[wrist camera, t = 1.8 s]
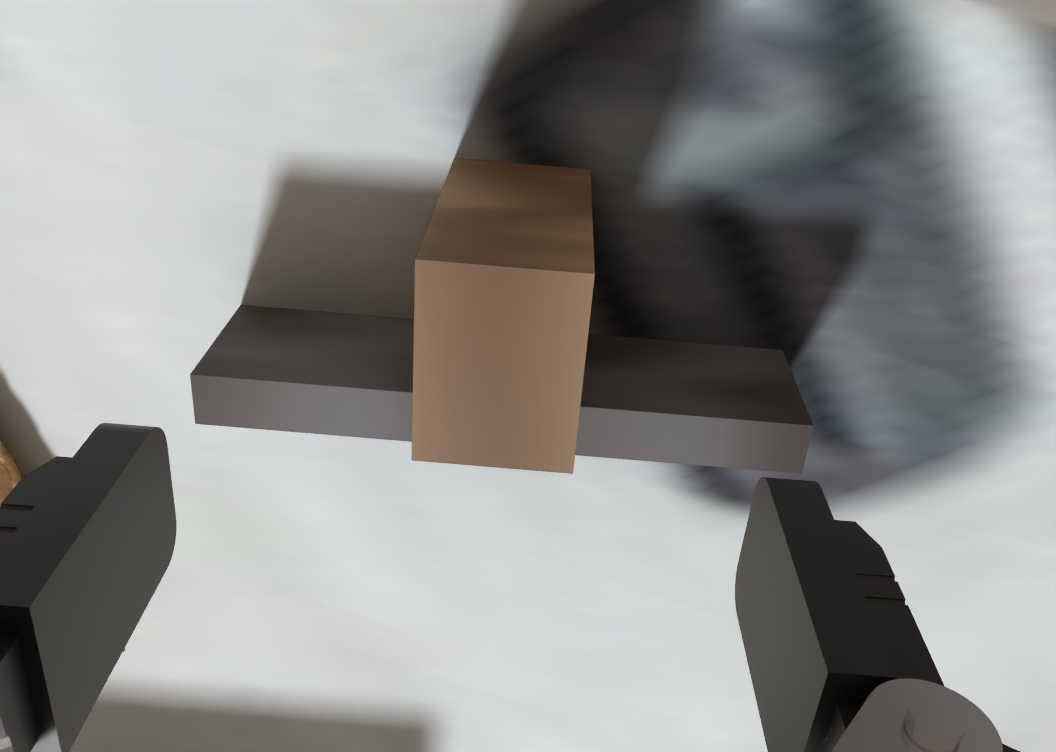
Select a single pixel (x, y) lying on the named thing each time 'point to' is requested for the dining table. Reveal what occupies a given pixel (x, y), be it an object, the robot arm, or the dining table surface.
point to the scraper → (505, 354)
